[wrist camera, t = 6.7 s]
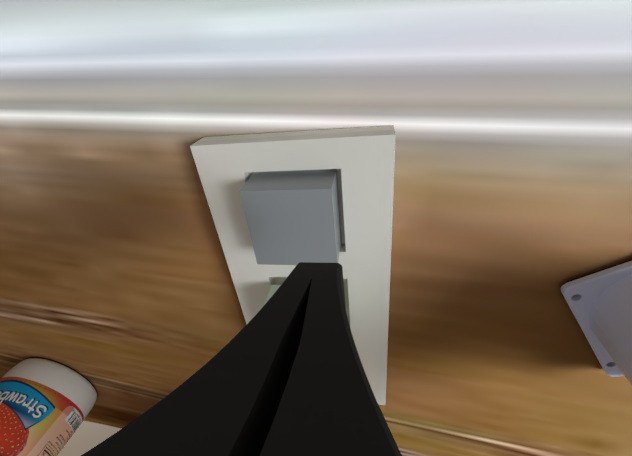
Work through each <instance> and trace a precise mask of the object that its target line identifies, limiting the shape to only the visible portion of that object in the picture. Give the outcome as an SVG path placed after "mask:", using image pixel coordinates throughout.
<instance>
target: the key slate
mask: <svg viewBox="0 0 632 456" xmlns="http://www.w3.org/2000/svg"><path fill="white" fill-rule="evenodd" d="M239 194H240V198H241V202H242V205H243V209H244V213H245V217H246V221H247V225H248V229H249V233H250V237H251V241H252V245H253V249H254V253H255V257H256V261H257V264H263V265H297V264H298V263H299V262H312V263H338V260H339V253H340V246H341V226H340V211H339V196H338V181H337V169H320V170H294V171H267V172H255V173H254V174H253V175H252V176H251V177H250V179H249V180H248V181H247V182H246V183H245V185H244V186H243V187H242V188H241V189H240V191H239Z"/></svg>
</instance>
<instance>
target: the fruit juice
mask: <svg viewBox="0 0 632 456" xmlns="http://www.w3.org/2000/svg"><path fill="white" fill-rule="evenodd" d="M96 400H97V393H96V390H95V388H94V387H93V386H92V384H91V383H90V382H89V381H88V380H86V379H85V378H84V377H83V376H81V375H80V374H78V373H77V372H75V371H74V370H72V369H70V368H68V367H66V366H64V365H61V364H59V363H56V362H53V361H50V360H46V359H41V358H29V359H25V360H23V361H21V362H20V363H18V364H17V365H15V366H14V367H13V368H12V369H10V370H9V371H8V372H7V373H6V374H5V375H4V376H3V377H2V378H1V379H0V456H57V455H58V453H59V452H60V451H61V450H62V448H63V447H64V445H65V444H66V443H67V442H68V440H69V439H70V438H71V436H72V435H73V434H74V432H75V431H76V429H77V428H78V427H79V425H80V424H81V423H82V421H83V420H84V419H85V417H86V416H87V415H88V413H89V412H90V411H91V409H92V407H93V406H94V404H95V402H96Z"/></svg>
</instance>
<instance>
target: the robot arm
mask: <svg viewBox="0 0 632 456" xmlns="http://www.w3.org/2000/svg"><path fill="white" fill-rule="evenodd" d="M561 292H562V294H563V296H564V298H565V300H566V302H567V303H568V305H569V307H570V309H571V311H572V313H573V315H574V316H575V318H576V320H577V322H578V324H579V326H580V327H581V329H582V331H583V333H584V335H585V337H586V338H587V340H588V342H589V344H590V346H591V348H592V350H593V351H594V353H595V355H596V357H597V359H598V361H599V362H600V364H601V366H602V368H603V370H604V371H605V373H606V374H607V375H608V376H611V377H617V376H622V375H625V376H626V378H627V379H628V381H629V382H630V383H631V385H632V261H629V262H626V263H623V264H620V265H617V266H614V267H611V268H608V269H605V270H603V271H600V272H597V273H594V274H591V275H588V276H585V277H582V278H579V279H576V280H573V281H570V282H567V283H565V284H564V285H563V286H562V287H561ZM574 295H575V296H574ZM81 456H402V455H401V453H400V451H399V449H398V447H397V445H396V442H395V440H394V438H393V436H392V434H391V432H390V429H389V427H388V425H387V423H386V421H385V418H384V416H383V414H382V412H381V410H380V408H379V405H378V403H377V401H376V398H375V396H374V393H373V391H372V389H371V386H370V384H369V381H368V379H367V376H366V373H365V371H364V368H363V366H362V363H361V360H360V357H359V354H358V351H357V348H356V345H355V342H354V339H353V336H352V333H351V329H350V326H349V322H348V318H347V314H346V306H345V294H344V282H343V270H342V265H340V264H339V263H312V262H299V263H298V264H297V265H296V267H295V268H294V269H293V270H292V272H291V273H290V274H289V276H288V277H287V278H286V279H285V281H284V282H283V283H282V284H281V286H280V287H279V288H278V289H277V291H276V292H275V293H274V294H273V296H272V297H271V298H270V299H269V300H268V301H267V303H266V304H265V305H264V306H263V307H262V308H261V310H260V311H259V312H258V313H257V314H256V315H255V316H254V317H253V318H252V319H251V320H250V322H249V323H248V324H247V325H246V326H245V327H244V328H243V329H242V330H241V331H240V332H239V333H238V334H237V335H236V336H235V337H234V338H233V339H232V340H231V341H230V342H229V343H228V344H227V345H226V346H225V347H224V348H223V349H222V350H221V351H220V352H219V353H218V354H217V355H215V356H214V357H213V358H212V359H211V360H210V361H209V362H208V363H207V364H205V365H204V366H203V367H202V368H201V369H200V370H198V371H197V372H196V373H195V374H194V375H192V376H191V377H190V378H189V379H188V380H186V381H185V382H184V383H183V384H182V385H180V386H179V387H178V388H177V389H175V390H174V391H173V392H172V393H170V394H169V395H168V396H167V397H165V398H164V399H163V400H161V401H160V402H159V403H157V404H156V405H154V406H153V407H152V408H150V409H149V410H148V411H146V412H145V413H143V414H142V415H141V416H139V417H138V418H137V419H135V420H134V421H132V422H131V423H130V424H128V425H127V426H125V427H124V428H122V429H121V430H120V431H118V432H117V433H115V434H114V435H112V436H111V437H109V438H108V439H106V440H105V441H103V442H102V443H100V444H99V445H97V446H96V447H94V448H93V449H91V450H89V451H88V452H86V453H85V454H83V455H81Z"/></svg>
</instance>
